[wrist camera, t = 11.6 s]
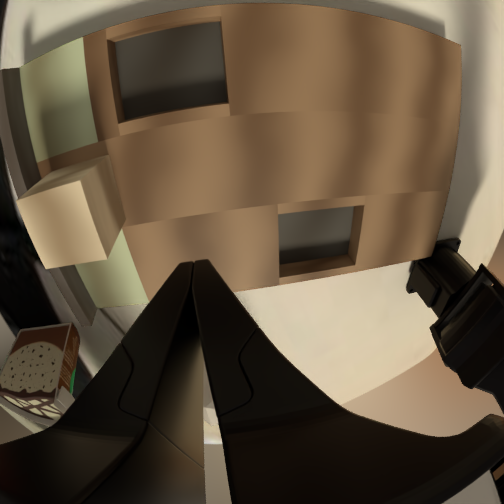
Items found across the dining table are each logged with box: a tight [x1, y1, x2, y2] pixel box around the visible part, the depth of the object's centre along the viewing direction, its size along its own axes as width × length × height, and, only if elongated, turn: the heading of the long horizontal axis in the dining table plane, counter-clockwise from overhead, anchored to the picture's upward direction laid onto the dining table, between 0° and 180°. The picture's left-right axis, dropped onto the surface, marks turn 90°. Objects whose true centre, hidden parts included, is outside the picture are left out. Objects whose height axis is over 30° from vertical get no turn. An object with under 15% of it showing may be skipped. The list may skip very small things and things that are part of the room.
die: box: [203, 362, 218, 426], centre depth 27 cm, size 8×9×10 cm
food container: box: [0, 322, 80, 426], centre depth 22 cm, size 12×6×10 cm, turn 99°
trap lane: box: [0, 3, 462, 326], centre depth 16 cm, size 32×20×4 cm, turn 94°
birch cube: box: [16, 155, 126, 269], centre depth 14 cm, size 4×4×4 cm
